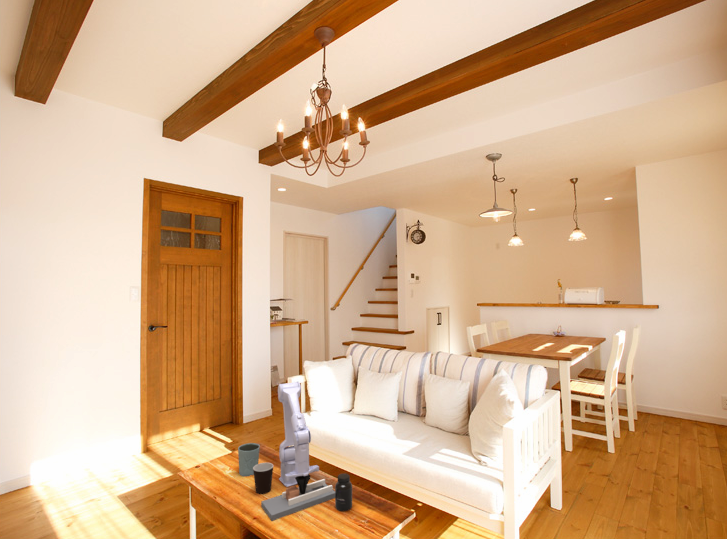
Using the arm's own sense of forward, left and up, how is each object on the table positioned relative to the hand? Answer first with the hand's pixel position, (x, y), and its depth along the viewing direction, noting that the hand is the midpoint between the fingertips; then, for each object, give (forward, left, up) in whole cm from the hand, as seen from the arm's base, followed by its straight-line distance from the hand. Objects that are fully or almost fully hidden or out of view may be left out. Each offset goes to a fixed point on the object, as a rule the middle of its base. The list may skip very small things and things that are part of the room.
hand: (302, 493), depth 156 cm
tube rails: (0, +2, -1) cm, 3 cm away
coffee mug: (-19, -9, -3) cm, 21 cm away
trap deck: (0, -1, -3) cm, 3 cm away
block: (0, -4, -1) cm, 5 cm away
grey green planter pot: (-39, -10, -3) cm, 40 cm away
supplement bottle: (+14, +12, -3) cm, 18 cm away
